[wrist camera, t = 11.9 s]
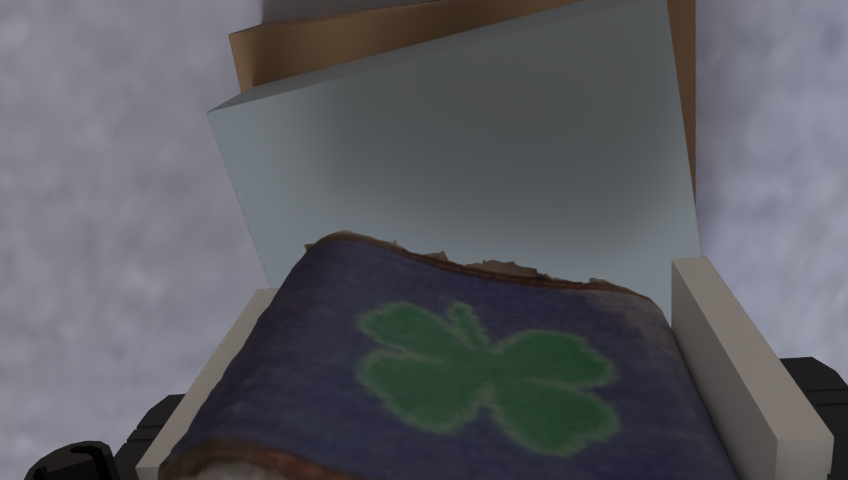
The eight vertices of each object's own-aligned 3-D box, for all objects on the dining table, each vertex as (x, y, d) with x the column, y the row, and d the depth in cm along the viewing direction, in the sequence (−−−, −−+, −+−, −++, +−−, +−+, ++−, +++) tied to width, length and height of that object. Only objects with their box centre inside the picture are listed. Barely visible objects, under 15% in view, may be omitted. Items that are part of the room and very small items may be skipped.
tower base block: (333, 359, 31) (312, 414, 28) (265, 23, 26) (228, 34, 23) (669, 334, 29) (695, 390, 26) (664, -31, 25) (695, -29, 21)
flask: (678, 291, 18) (916, 733, 8) (642, 392, 19) (809, 892, 9) (303, 214, 18) (62, 550, 8) (290, 319, 19) (63, 730, 9)
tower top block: (358, 401, 27) (338, 473, 23) (251, 86, 23) (206, 112, 19) (689, 343, 25) (723, 411, 21) (634, -14, 21) (665, -6, 17)
